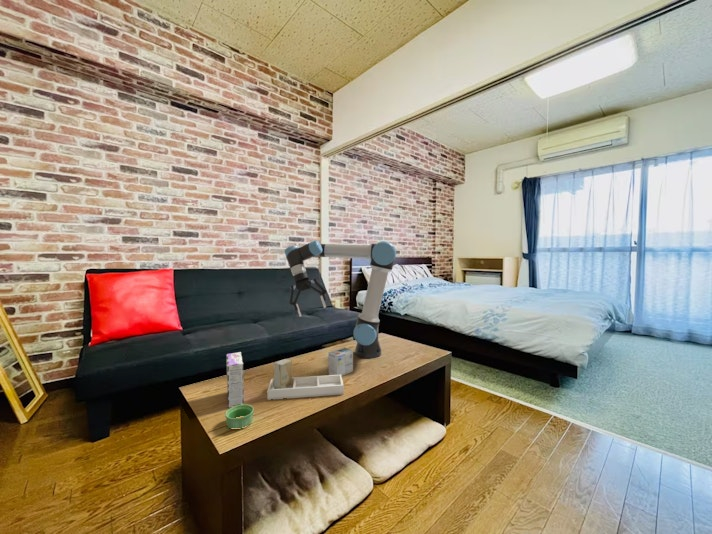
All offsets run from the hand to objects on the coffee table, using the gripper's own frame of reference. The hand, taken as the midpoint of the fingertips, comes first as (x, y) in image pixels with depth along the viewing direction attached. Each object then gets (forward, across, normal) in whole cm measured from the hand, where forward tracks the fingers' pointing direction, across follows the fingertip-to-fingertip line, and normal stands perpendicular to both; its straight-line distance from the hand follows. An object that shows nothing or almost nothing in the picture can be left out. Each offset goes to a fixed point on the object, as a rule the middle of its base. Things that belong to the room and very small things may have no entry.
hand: (313, 311), depth 150 cm
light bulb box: (+33, -2, +5) cm, 33 cm away
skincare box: (+28, +26, +16) cm, 42 cm away
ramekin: (+31, +43, +32) cm, 62 cm away
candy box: (+24, +44, +15) cm, 52 cm away
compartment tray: (+32, +17, +18) cm, 40 cm away
